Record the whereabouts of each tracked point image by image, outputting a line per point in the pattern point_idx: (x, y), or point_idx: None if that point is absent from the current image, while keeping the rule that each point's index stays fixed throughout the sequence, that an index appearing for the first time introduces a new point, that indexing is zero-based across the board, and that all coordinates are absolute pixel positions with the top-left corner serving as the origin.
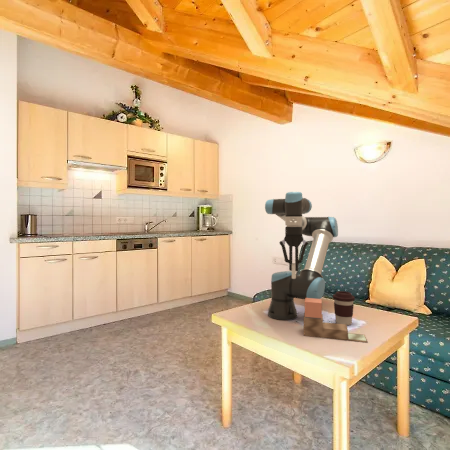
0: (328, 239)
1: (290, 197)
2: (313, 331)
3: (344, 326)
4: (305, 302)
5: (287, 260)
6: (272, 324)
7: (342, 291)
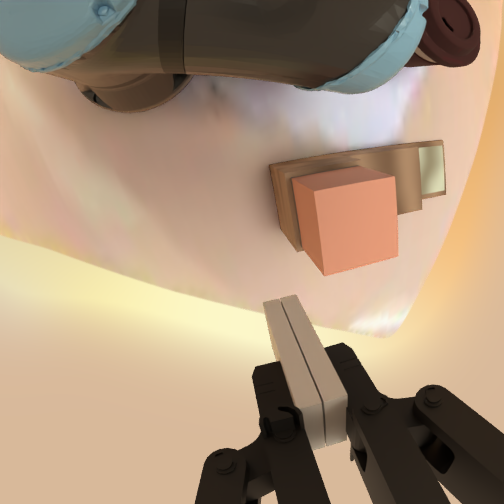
0: None
1: None
2: None
3: (414, 171)
4: (326, 274)
5: (257, 499)
6: (137, 177)
7: None
